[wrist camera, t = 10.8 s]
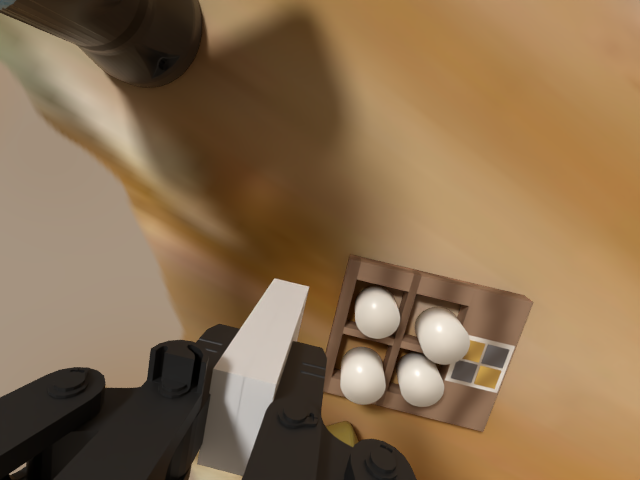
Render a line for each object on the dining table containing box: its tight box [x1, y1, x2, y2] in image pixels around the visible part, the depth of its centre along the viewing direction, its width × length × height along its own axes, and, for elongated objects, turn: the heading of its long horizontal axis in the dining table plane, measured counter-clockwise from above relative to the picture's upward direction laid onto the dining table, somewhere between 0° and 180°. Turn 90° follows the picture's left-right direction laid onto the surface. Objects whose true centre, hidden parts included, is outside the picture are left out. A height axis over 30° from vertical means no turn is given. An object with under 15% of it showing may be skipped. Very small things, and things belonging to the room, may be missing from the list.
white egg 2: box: [340, 347, 386, 405], centre depth 45 cm, size 6×6×4 cm
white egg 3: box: [415, 307, 470, 365], centre depth 43 cm, size 6×6×4 cm
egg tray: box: [323, 255, 533, 432], centre depth 47 cm, size 24×20×3 cm
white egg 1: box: [355, 286, 400, 339], centre depth 45 cm, size 6×6×4 cm
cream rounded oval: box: [396, 352, 444, 407], centre depth 47 cm, size 6×6×4 cm
